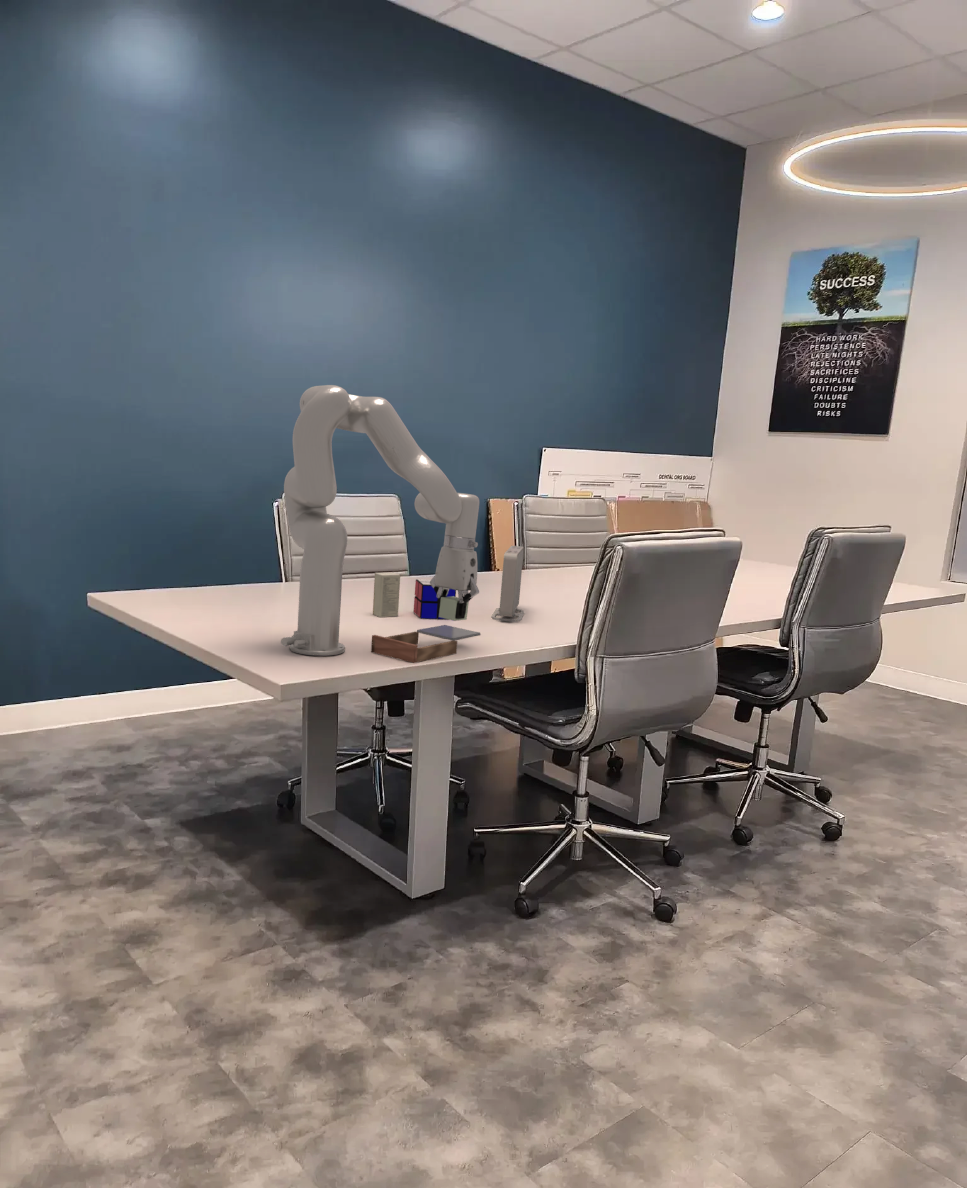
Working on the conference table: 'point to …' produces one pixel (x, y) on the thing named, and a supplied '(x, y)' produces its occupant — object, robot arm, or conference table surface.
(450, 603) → the block
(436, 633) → the slate pad
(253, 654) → the conference table surface
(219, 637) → the conference table surface
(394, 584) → the skincare box
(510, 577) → the network device
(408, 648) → the wooden tray
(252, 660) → the conference table surface
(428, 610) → the puzzle cube
